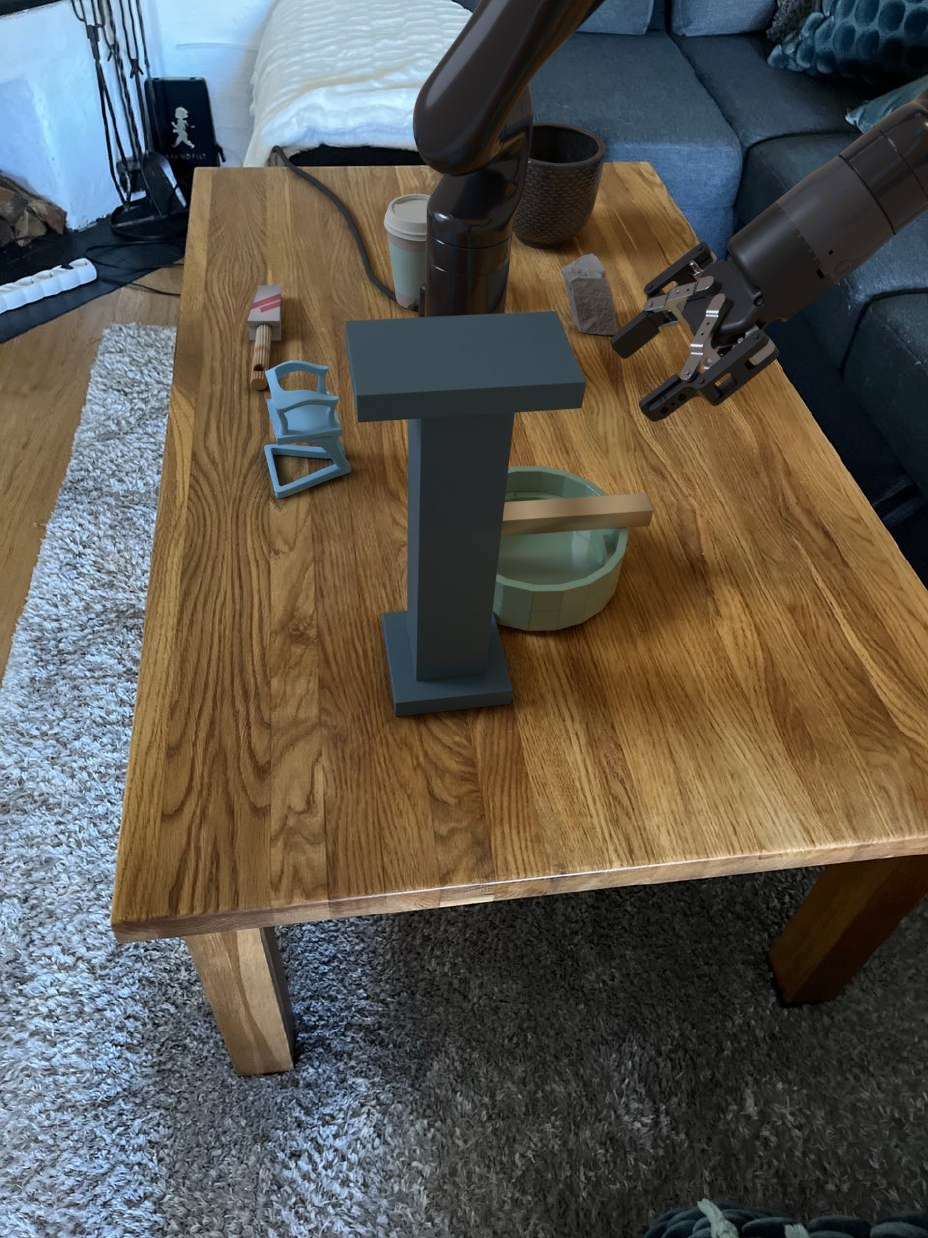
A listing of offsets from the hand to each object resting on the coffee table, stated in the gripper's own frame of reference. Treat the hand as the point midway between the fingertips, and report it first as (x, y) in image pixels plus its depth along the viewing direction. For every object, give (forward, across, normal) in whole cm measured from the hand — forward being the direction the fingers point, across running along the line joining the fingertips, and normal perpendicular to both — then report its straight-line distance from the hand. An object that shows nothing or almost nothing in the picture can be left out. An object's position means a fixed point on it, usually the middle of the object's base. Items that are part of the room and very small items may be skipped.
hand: (630, 381), depth 76 cm
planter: (+8, -65, +22) cm, 69 cm away
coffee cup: (+22, -50, +8) cm, 55 cm away
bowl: (+19, 0, +11) cm, 22 cm away
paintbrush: (+36, -41, -6) cm, 56 cm away
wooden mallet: (+15, 0, +6) cm, 17 cm away
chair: (+34, -17, -3) cm, 38 cm away
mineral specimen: (+8, -42, +22) cm, 48 cm away
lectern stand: (+26, +10, +4) cm, 29 cm away
